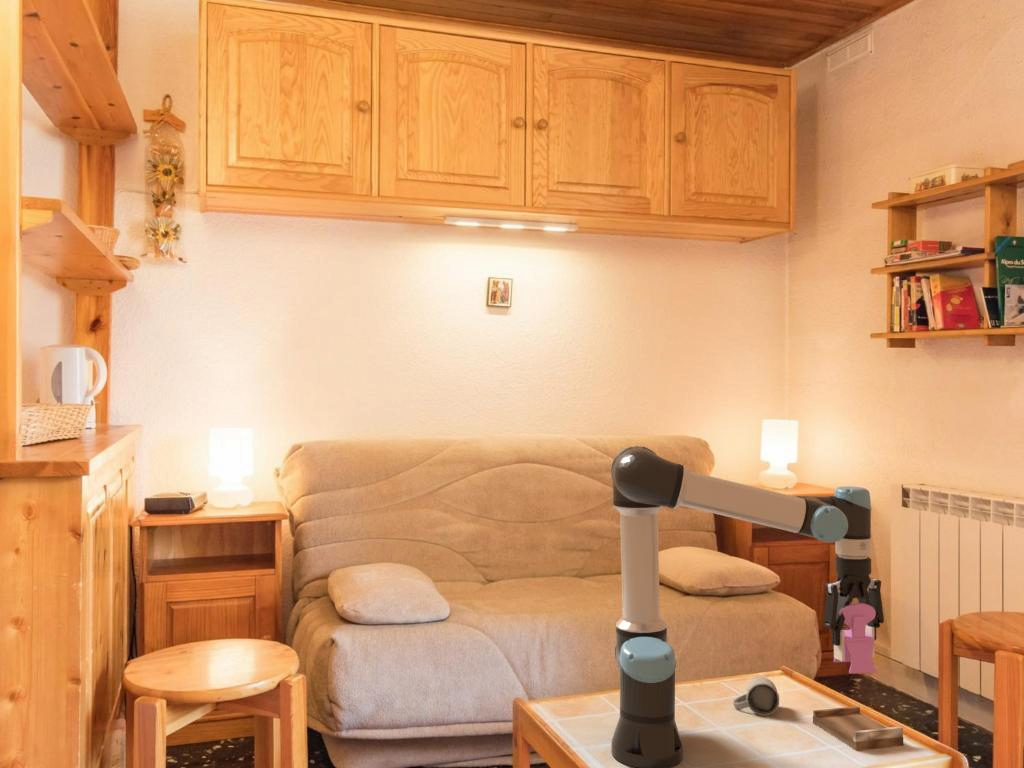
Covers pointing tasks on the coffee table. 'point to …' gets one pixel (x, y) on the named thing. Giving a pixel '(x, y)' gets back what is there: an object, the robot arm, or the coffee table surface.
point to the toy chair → (858, 638)
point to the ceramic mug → (759, 697)
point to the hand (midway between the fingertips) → (854, 657)
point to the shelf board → (857, 728)
